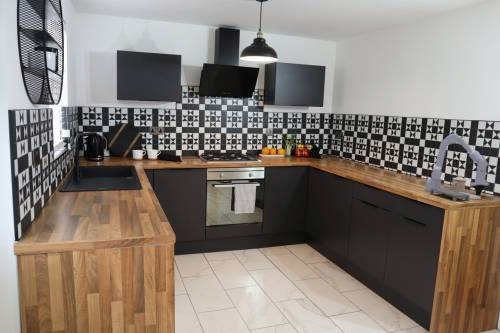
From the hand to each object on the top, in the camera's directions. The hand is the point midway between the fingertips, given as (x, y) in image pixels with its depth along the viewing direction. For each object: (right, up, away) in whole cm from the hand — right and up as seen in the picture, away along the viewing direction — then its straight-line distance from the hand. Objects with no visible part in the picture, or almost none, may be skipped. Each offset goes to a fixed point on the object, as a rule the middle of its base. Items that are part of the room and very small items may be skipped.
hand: (477, 195), depth 273 cm
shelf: (-24, -1, -7) cm, 25 cm away
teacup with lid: (-5, +2, +18) cm, 19 cm away
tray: (-11, -1, -3) cm, 12 cm away
